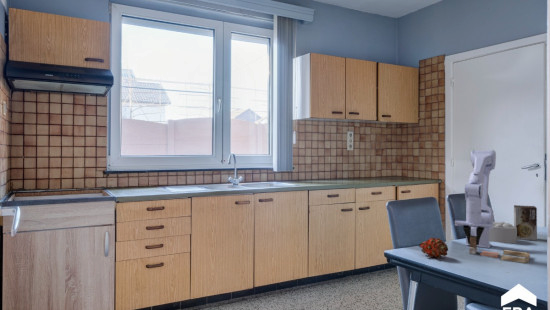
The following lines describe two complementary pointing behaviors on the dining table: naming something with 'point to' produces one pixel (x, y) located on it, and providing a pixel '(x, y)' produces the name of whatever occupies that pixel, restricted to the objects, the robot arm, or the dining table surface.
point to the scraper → (473, 245)
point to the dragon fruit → (434, 247)
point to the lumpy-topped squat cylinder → (503, 233)
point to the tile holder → (515, 259)
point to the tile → (489, 254)
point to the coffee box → (525, 222)
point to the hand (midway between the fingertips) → (473, 244)
